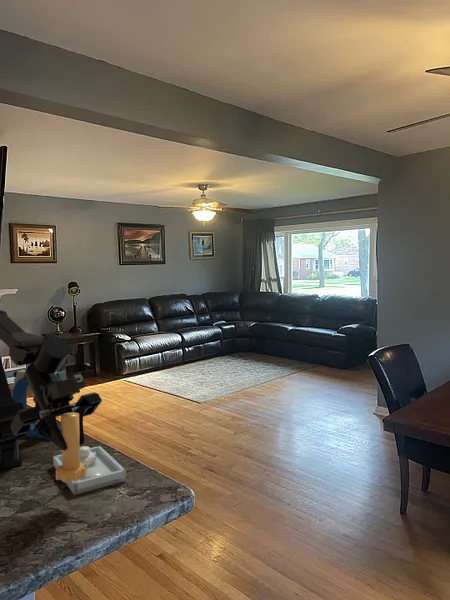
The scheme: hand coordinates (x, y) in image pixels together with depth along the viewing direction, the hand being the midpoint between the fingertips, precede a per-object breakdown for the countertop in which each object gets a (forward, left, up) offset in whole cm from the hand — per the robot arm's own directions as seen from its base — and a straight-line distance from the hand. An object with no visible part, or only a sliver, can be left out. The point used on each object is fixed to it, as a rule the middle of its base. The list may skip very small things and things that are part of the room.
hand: (74, 446), depth 96 cm
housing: (-13, +7, -12) cm, 19 cm away
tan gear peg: (-1, 0, -7) cm, 7 cm away
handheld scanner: (-46, +3, -13) cm, 48 cm away
